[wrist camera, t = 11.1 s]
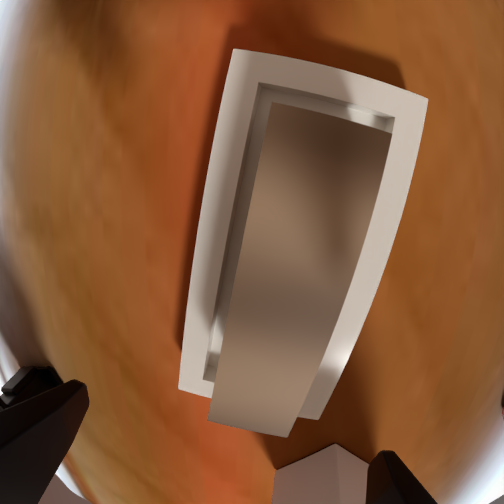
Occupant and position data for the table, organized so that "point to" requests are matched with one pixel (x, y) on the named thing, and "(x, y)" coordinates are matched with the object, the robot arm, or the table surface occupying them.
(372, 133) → the walnut block
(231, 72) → the slot tray
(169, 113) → the table surface
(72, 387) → the robot arm
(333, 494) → the milk carton
